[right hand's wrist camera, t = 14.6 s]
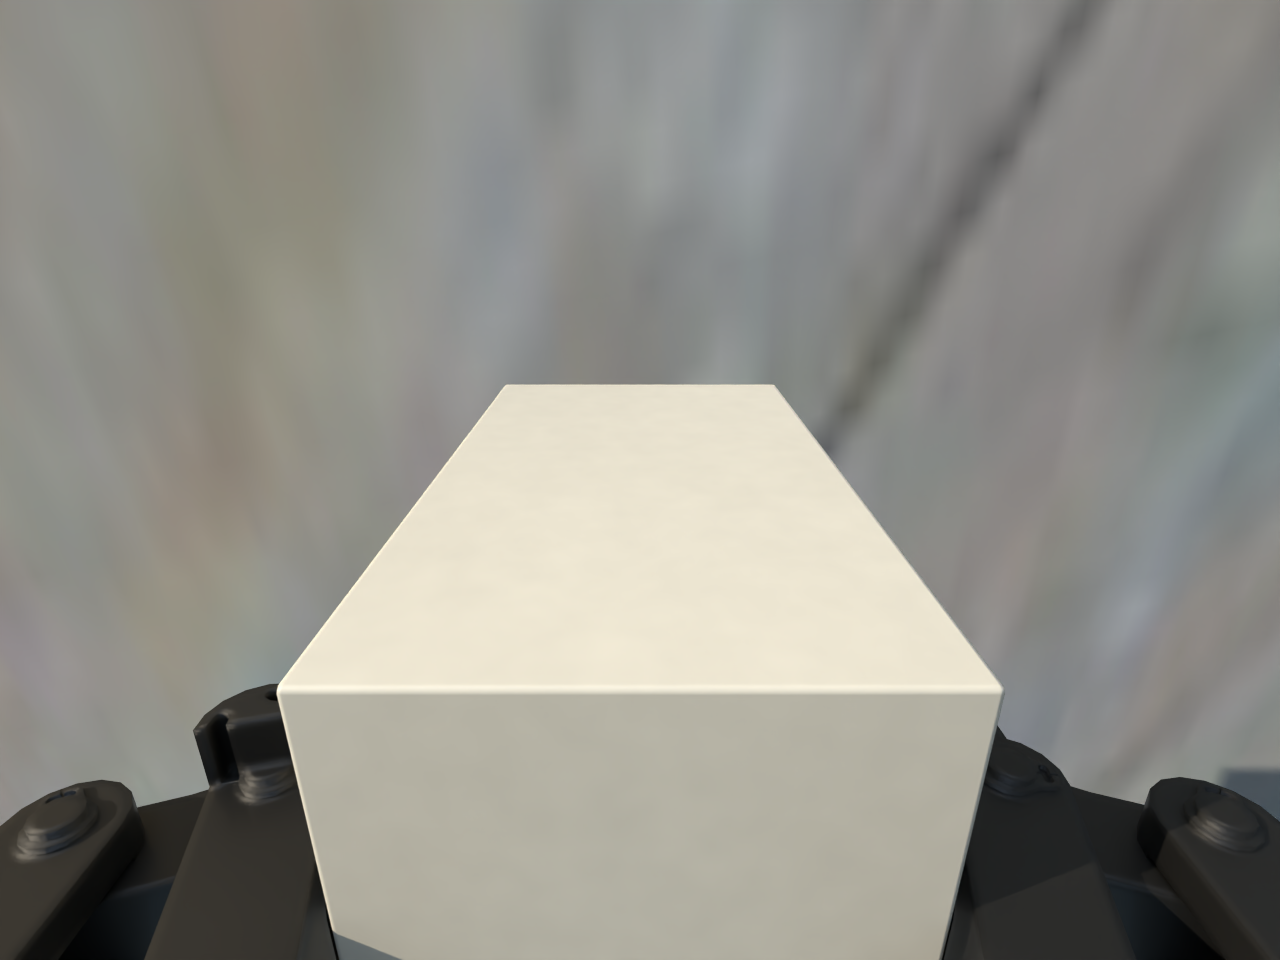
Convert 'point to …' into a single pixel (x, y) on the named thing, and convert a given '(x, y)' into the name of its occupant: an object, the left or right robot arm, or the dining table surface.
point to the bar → (640, 701)
